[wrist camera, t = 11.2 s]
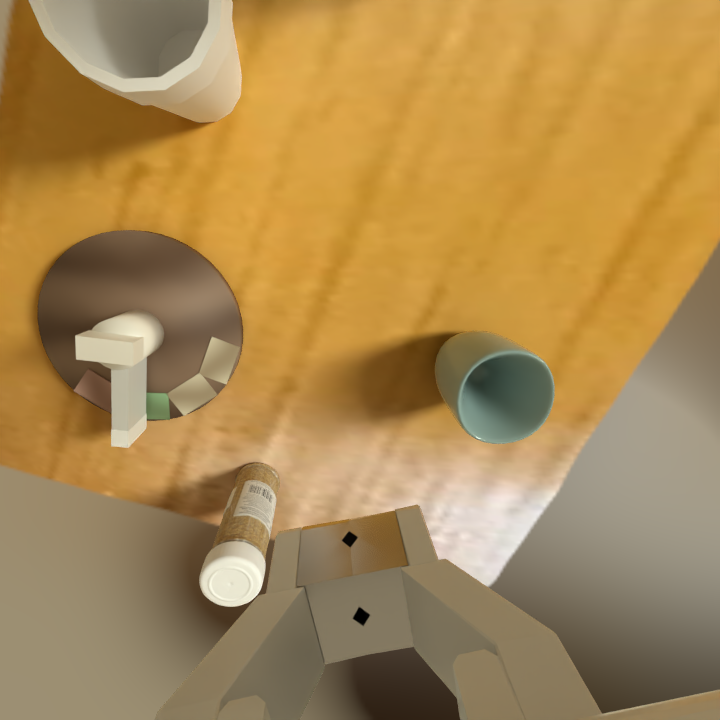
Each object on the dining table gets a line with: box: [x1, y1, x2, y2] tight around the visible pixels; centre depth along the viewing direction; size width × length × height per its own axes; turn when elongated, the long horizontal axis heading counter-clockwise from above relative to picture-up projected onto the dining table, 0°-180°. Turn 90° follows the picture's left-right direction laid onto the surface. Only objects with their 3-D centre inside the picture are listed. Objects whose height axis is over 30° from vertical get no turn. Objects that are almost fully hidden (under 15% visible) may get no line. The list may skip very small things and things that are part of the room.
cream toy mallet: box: [75, 310, 164, 448], centre depth 35 cm, size 11×4×6 cm, turn 171°
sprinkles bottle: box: [199, 463, 280, 606], centre depth 37 cm, size 5×5×13 cm
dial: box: [38, 230, 243, 421], centre depth 37 cm, size 17×17×1 cm
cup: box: [435, 331, 554, 444], centre depth 36 cm, size 8×8×10 cm
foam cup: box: [28, 0, 242, 123], centre depth 27 cm, size 10×9×13 cm
